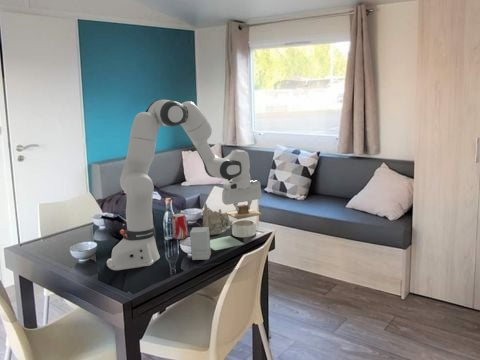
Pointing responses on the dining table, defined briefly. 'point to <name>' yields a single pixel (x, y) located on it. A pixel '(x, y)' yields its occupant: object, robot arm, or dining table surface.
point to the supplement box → (200, 243)
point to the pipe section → (243, 228)
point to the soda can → (179, 226)
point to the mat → (224, 243)
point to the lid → (243, 212)
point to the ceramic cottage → (215, 220)
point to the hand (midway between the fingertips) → (243, 210)
